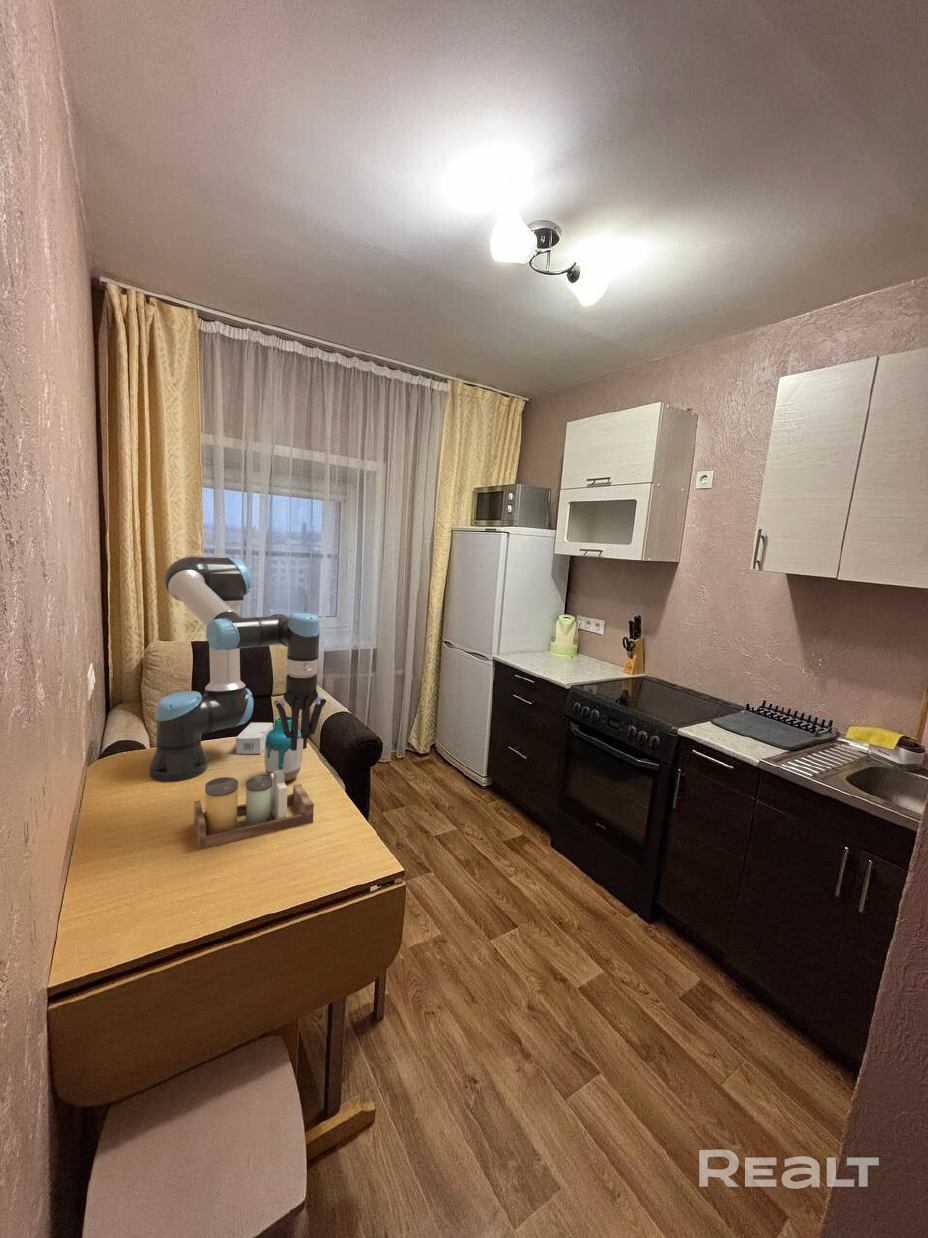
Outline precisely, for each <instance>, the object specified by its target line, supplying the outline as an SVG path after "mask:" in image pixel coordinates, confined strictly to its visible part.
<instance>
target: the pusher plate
mask: <svg viewBox="0 0 928 1238" xmlns="http://www.w3.org/2000/svg"><path fill="white" fill-rule="evenodd" d="M284 777H285V775H284V773H283V772H282V770H279V771H274V773H272V774H271V778H272V804H271V816H272V817H273V818H274V819H273V820H277V819H281V818H285V817H288V816H287V814H288V805H287V795H288V786H287V784H286V781H284Z"/></svg>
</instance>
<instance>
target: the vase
mask: <svg viewBox="0 0 928 1238" xmlns="http://www.w3.org/2000/svg"><path fill="white" fill-rule="evenodd" d="M286 717H287V721H288V726H289V730H290V732H291V715H287V714H286ZM274 718H275V719H274V723H273V729H272V730H270V731H269V732H268V734H267V736H266V741H265V749H264V770H265V774H266V776H268V777H270V778H271V774H272V773H274V771H279V770H282V772H283V773H284V775H285V777H284V782H288V781H292V780H293V779H294V778H296V777H297V776H298V774H299V773H300V771H301V766H302V763H296V762H295V760H294V751H293V750H292V749H291V738H286V736H285V735H284V733H283V728H282V724H281V720H280V715H279V716H276V717H274ZM298 735H301V730H300V729H298Z"/></svg>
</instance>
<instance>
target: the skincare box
mask: <svg viewBox="0 0 928 1238" xmlns="http://www.w3.org/2000/svg"><path fill="white" fill-rule="evenodd" d="M272 729H274V723H273V722H249V724H248V725H247V726H245V728H244V729H243V730H242V731H241V732H240V733H239V734H238V735H237V736H236V737H235V747H236V748H235V749H236V750H235V752H236V754H237V755H238V754H244V755H245V754H247V755H248V754H249V755H250V754H251V755H252V754H255V755H260V754H262V752H263V751H265V741H266V736H267V734H268V732H269V731H270V730H272Z"/></svg>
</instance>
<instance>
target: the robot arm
mask: <svg viewBox="0 0 928 1238" xmlns="http://www.w3.org/2000/svg"><path fill="white" fill-rule="evenodd" d="M163 583H164V587H165V590H166V592H168V595H170V596H171V597H172V598H173V599H175V600H176V601H179V602H183V604H184V606H186V607H187V608H188V609H189V610H190V611H191V612H192V613H193V614H194V615H195V616H196V617H197V618H198V619H199V621H200V622H201V623H202V624H203V625H205V627H206V631H205V633H206V640H207V642H208V646H209V677H210V678H209V679H210V680H209V681H210V682H209V683H208V684H207V685H206V686H205V687H204V694H201V692H200V691H199V692H198V691H195V690H189V691H186V690H185V691H179V692H175V693H171V694H168V695H166V696H165V697H163V698H161V699H160V700H159V701H158V702H157V704H156V711H155V712H156V713H155V720H156V721H155V722H156V723H155V726H156V727H155V728H156V730H155V731H156V733H155V734H156V736H155V737H156V747H155V748H156V749H155V751H154V754H153V756H152V760H151V762H150V765H149V776H150V778H152V779H153V780H155V781H159V782H180V781H184V780H188V779H191V778H195V777H198V776H200V775H202V774H203V773H205V771H206V770H207V769H208V758H207V755H206V753H205V750H204V747H203V745H202V734H206V733H211V732H215V731H220V730H224V729H228V728H235V727H238V726H240V725H244V724H246V723H247V722H248V721H249V720H250V719H251V717H252V714H253V712H254V711H253V710H254V698H253V693H252V692H251V690H250V689H249V688H246V684H245V682H243V681H242V680H241V665H240V664H241V661H240V659H241V657H240V654H241V652H240V650H241V649H247V648H256V647H266V646H276V645H277V646H278V645H280V646H283V647H286V648H287V651H286V652H287V653H286V656H287V657H286V673H287V674H286V676H285V678H286V679H285V692H284V694H283V697H282V698H281V699H280V700H275V701H274V702H273V704H274V706H275V708H277V711H278V715H279V716H280V720H281V724H282V728H283V733H284V735H285V736H286V738H291V749H292V750H293V751H294V760H295V762H296V763H301V764H302V763H303V758H304V757H303V755H304V750H305V749H307V747H308V739H309V736H313V735H315V732H316V730H317V726H318V723H319V720H320V716H321V713H322V710H323V707H324V706H325V704H326V703H327V700H326V699H325V697H323V696H320V695H319V693H318V691H317V685H318V675H317V673H318V667H319V665H318V664H319V649H320V648H319V647H320V633H321V629H320V617H319V616H318V615H316V614H314V613H309V612H296V613H291V614H290V615H289V616H288V615H285V614H283V613H270V614H268V615H266V616H257V617H256V616H254V617H253V616H252V617H241V615H240V613H239V612H240V605H242V603H244V601H245V600H244V596H246V595H248V594H250V592H251V588H252V578H251V573H250V571H249V568H248V566H247V564H246V563H245V562H244V561H243V560H241V559H238V558H232V557H231V558H230V557H212V556H211V557H207V556H204V557H203V556H187V557H186V556H185V557H182V558H180V559H177V560H175V561H174V562H172V563H171V565H169V566H168V568H167V569H166V570H165V573H164V576H163ZM286 704H287V705H288V706H289V707H290V710H291V715H290V716H291V732H290V730H289V726H288V721H287V717H286V715H287V713H286V710H285V708H286ZM313 704H314V706H313V710H312V714H311V715H310V710H311V709H310V708H311V706H312V705H313ZM300 713H301V715H300ZM309 715H310V716H311V717H309ZM299 719H300V720H299ZM309 719H310V720H309ZM299 721H301V722H300V732H301V735H298V730H299Z"/></svg>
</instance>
